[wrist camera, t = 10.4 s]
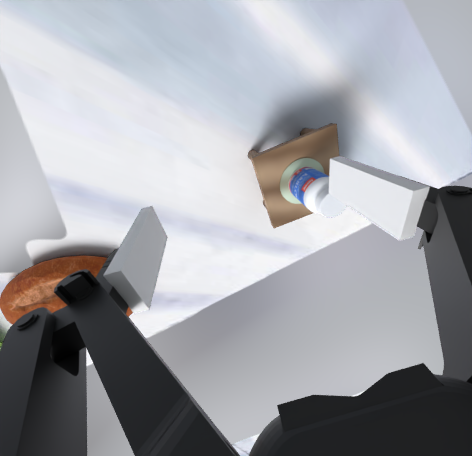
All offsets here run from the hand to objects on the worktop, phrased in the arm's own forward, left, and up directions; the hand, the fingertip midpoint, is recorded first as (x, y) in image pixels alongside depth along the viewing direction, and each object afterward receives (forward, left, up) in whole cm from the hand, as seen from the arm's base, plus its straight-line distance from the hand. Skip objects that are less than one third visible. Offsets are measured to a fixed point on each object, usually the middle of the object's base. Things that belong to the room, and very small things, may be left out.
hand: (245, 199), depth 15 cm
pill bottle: (+7, +13, -19) cm, 24 cm away
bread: (+26, -40, -28) cm, 55 cm away
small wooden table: (+7, +13, -27) cm, 31 cm away
